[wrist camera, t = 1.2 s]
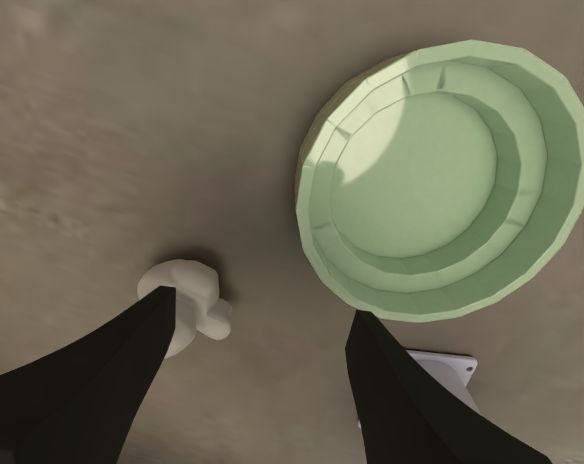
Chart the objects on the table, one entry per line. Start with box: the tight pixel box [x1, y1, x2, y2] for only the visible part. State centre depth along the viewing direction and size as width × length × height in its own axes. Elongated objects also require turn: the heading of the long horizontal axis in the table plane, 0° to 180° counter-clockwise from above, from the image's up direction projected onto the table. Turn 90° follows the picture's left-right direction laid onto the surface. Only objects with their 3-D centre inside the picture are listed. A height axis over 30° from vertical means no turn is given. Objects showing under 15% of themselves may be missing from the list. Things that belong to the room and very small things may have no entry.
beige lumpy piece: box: [137, 259, 232, 359], centre depth 20 cm, size 5×7×8 cm
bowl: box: [294, 39, 584, 323], centre depth 18 cm, size 14×14×5 cm
